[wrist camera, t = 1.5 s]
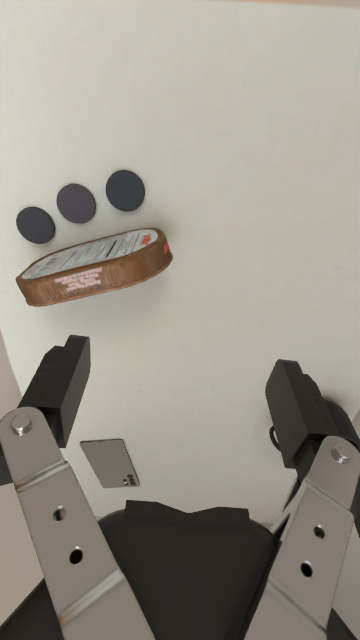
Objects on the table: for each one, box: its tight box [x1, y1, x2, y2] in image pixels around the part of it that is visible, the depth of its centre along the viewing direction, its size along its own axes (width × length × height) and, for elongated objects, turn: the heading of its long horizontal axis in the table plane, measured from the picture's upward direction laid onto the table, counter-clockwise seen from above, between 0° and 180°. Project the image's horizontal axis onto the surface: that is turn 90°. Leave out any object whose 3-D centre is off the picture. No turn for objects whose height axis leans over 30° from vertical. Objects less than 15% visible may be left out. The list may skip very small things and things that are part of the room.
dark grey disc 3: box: [106, 170, 145, 211], centre depth 30 cm, size 4×4×1 cm
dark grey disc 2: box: [57, 184, 96, 223], centre depth 30 cm, size 4×4×1 cm
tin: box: [16, 228, 173, 307], centre depth 30 cm, size 15×3×8 cm, turn 105°
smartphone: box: [80, 440, 140, 488], centre depth 59 cm, size 8×1×16 cm
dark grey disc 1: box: [16, 207, 55, 244], centre depth 32 cm, size 4×4×1 cm
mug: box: [269, 401, 360, 453], centre depth 47 cm, size 12×9×7 cm
